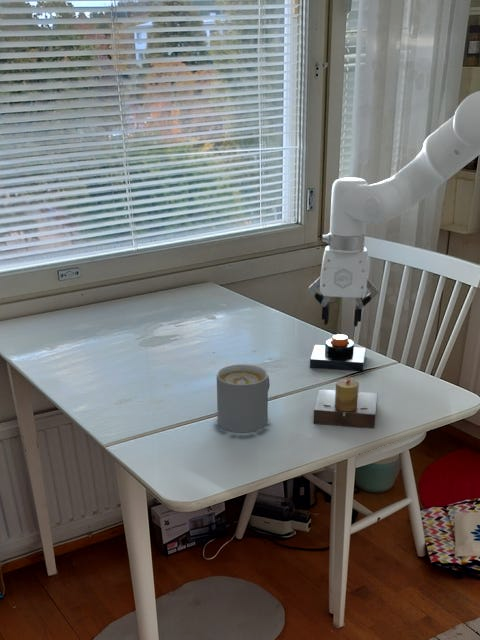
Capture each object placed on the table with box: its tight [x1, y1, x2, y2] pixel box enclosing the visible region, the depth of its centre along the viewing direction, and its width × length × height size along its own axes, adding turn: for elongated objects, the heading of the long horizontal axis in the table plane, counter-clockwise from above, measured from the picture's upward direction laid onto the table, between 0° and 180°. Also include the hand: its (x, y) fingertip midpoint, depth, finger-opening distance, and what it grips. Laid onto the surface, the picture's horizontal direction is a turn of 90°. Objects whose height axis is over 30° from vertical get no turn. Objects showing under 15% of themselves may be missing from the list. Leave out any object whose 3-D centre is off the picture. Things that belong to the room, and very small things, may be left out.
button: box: [331, 333, 349, 346], centre depth 180 cm, size 4×4×2 cm
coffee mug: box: [216, 363, 270, 434], centre depth 154 cm, size 13×10×10 cm
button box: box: [309, 337, 367, 373], centre depth 180 cm, size 12×10×4 cm
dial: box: [335, 376, 360, 411], centre depth 153 cm, size 4×4×5 cm
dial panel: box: [312, 388, 379, 429], centre depth 157 cm, size 12×12×3 cm
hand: (341, 322), depth 177 cm, fingers open, 6 cm apart
